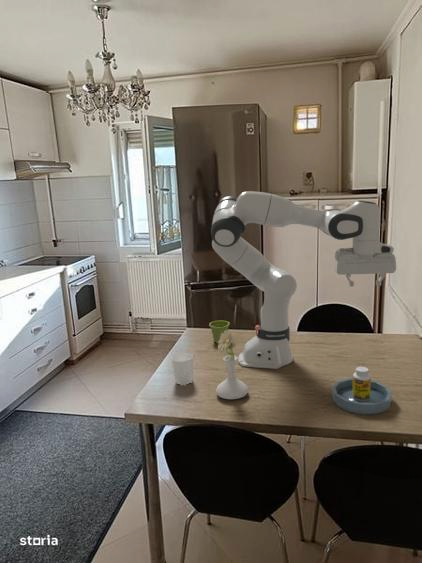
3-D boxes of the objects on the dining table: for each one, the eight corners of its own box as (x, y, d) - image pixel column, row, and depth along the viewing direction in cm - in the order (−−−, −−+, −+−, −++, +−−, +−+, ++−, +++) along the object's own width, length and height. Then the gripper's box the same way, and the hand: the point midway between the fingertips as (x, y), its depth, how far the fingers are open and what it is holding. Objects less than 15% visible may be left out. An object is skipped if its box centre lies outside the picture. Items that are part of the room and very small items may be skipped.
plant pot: (223, 346, 198) (222, 328, 196) (206, 343, 203) (205, 325, 201) (234, 339, 206) (233, 322, 204) (217, 336, 211) (216, 319, 209)
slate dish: (337, 414, 136) (337, 404, 136) (329, 387, 154) (329, 378, 153) (397, 414, 134) (398, 404, 133) (381, 387, 152) (382, 378, 151)
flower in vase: (216, 387, 159) (212, 322, 153) (247, 386, 158) (244, 321, 153) (215, 405, 146) (211, 335, 140) (249, 404, 146) (246, 334, 140)
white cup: (185, 375, 171) (183, 351, 168) (198, 381, 165) (197, 356, 163) (169, 382, 165) (167, 357, 163) (183, 388, 160) (181, 363, 157)
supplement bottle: (352, 400, 142) (352, 371, 140) (352, 392, 147) (353, 364, 145) (370, 402, 140) (371, 373, 138) (369, 394, 145) (370, 366, 143)
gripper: (336, 249, 150) (336, 288, 153) (398, 247, 148) (396, 287, 151) (333, 247, 156) (333, 284, 159) (393, 244, 154) (391, 282, 157)
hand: (364, 285), depth 155 cm, fingers open, 8 cm apart
